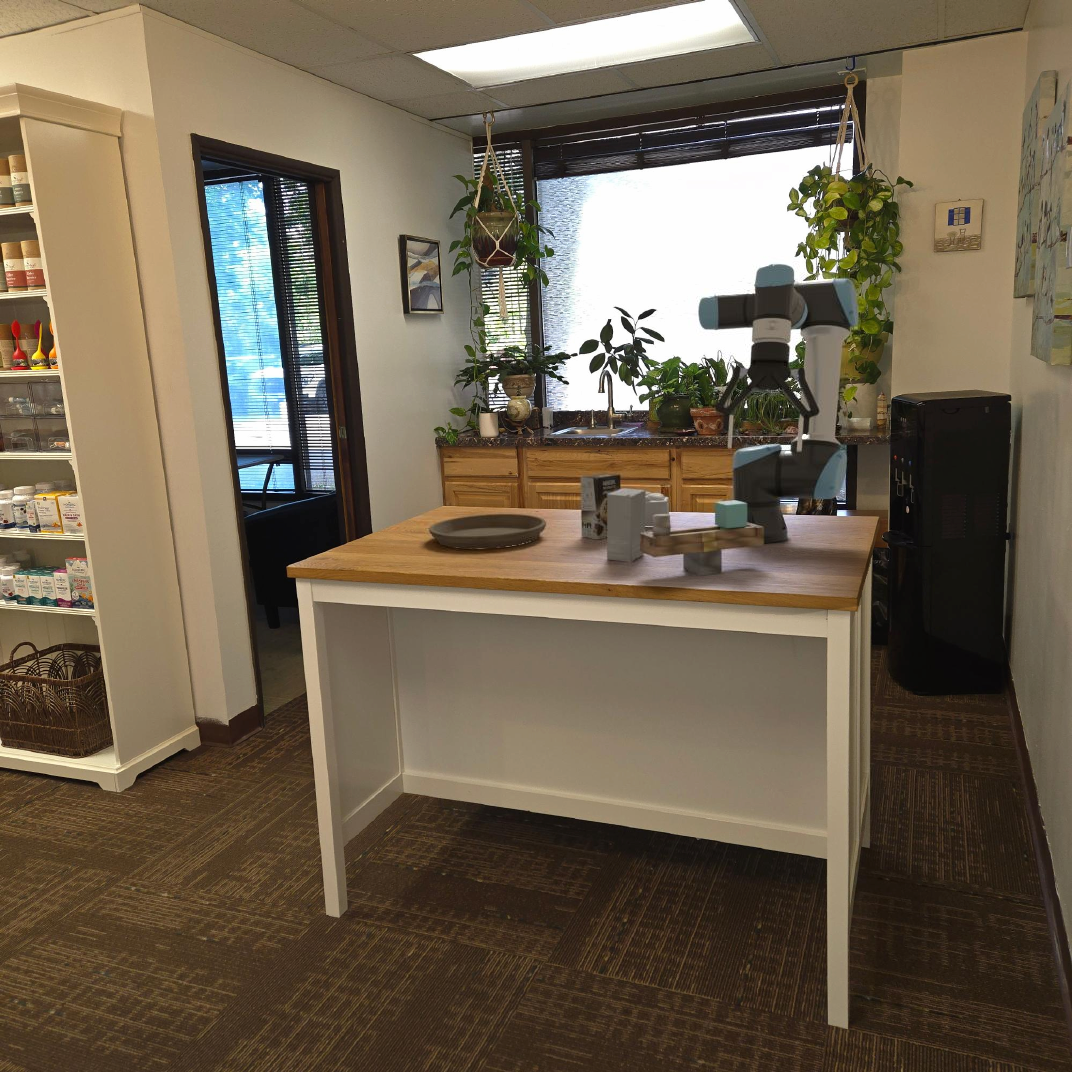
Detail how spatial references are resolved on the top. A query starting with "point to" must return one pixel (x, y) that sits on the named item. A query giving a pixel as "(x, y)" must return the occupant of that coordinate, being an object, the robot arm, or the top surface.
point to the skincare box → (625, 524)
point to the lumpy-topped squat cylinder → (655, 506)
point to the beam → (698, 543)
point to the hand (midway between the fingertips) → (764, 449)
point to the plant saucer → (488, 530)
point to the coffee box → (596, 503)
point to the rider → (730, 514)
